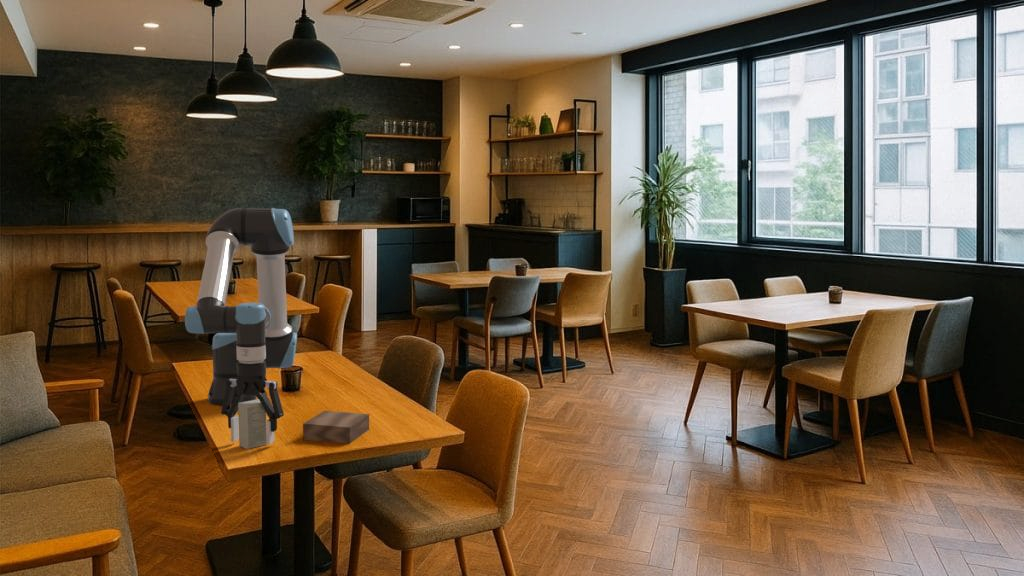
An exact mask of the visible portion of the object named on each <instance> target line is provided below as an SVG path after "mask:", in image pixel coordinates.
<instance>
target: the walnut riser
mask: <svg viewBox="0 0 1024 576" xmlns="http://www.w3.org/2000/svg"><path fill="white" fill-rule="evenodd" d="M368 431H370V414H369V413H361V412H360V413H359V412H348V411H347V412H346V411H332V410H323V411H322V412H320V413H318V414H317V415H315V416H313V417H311V418H310V419H308V420H306V421H305V422H302V440H305V441H313V442H315V441H316V442H325V443H327V442H328V443H336V444H337V443H339V444H349V445H351V444H352V443H353V442H354V441H356V440H358V438H360V437H361V436H363V435H364V434H365V433H367V432H368Z"/></svg>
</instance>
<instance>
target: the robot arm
mask: <svg viewBox="0 0 1024 576" xmlns="http://www.w3.org/2000/svg"><path fill="white" fill-rule="evenodd" d="M294 240H295V237H294V226H293V221H292V216H291V215H290V213H289V211H288V210H286V209H284V208H275V207H271V208H269V207H267V208H265V207H263V208H262V207H261V208H260V207H257V208H255V207H254V208H253V207H250V208H249V207H246V208H245V207H237V208H232V209H230V210H227V211H226V212H224V213H222V214H221V215H220V216H219V217H218V218H216V219H215V220H214V222H213V223H212V224H211V226H210V227H209V229H208V231H207V233H206V238H205V245H206V247H207V251H206V254H205V255H206V256H205V261H204V267H203V269H202V276H201V281H200V286H199V290H198V294H197V301H196V305H191V306H188V307H187V308H186V309H185V314H184V326H185V329H186V331H187V332H188V333H190V334H202V335H204V334H214V336H213V338H212V346H211V350H212V373H213V374H212V382H211V384H210V387H209V390H208V394H207V402H208V403H209V404H212V405H218V406H222V407H221V409H220V414H221V415H225V416H226V417H227V424H228V425H227V426H228V428H229V429H230V436H231V437H230V440H231V442H236V441H237V440H239V415H237V412H238V403H240V402H245V401H250V400H256V399H259V400H260V402H261V404H262V406H263V408H264V410H265V411H266V416H267V418H269V419H266V430H267V445H271V444H272V443H274V442H275V432H276V431H277V429H278V419H280V418H282V417H284V415H285V413H284V409H283V406H282V403H281V398H280V395H279V391H278V381H277V380H274V381H270V380H268V379H267V377H266V376H267V369H285V368H291V367H292V366H293V365H294V362H295V357H296V349H297V348H296V347H297V342H298V341H297V340H298V333H297V332H295V331H293V326H292V325H290V323H288V313H287V312H288V311H287V309H288V307H287V289H286V288H287V287H286V285H287V284H286V281H287V280H286V261H285V256H286V255H287V253H289V252H290V247H292V246H294V243H295V241H294ZM239 246H250V252H251V253H252V254H253V255H254V256H256V274H257V291H258V292H257V293H258V302H243V303H238V304H237V305H231V306H230V305H226V304H227V303H226V302H227V298H228V297H227V296H228V292H229V291H228V290H229V285H230V280H231V279H230V278H231V275H232V274H231V273H232V268H233V261H234V256H235V253H236V252H237V251H238V249H239ZM266 387H267V390H268V393H269V397H268V393H267V390H266V389H265V388H266ZM269 398H270V399H269Z"/></svg>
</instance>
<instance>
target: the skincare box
mask: <svg viewBox="0 0 1024 576" xmlns="http://www.w3.org/2000/svg"><path fill="white" fill-rule="evenodd" d="M237 412H238V415H237V416H238V418H239V439H238V443H239V444H238V445H239V446H240V447H241V448H243V449H245V450H249V449H254V448H258V447H262V446H266V445H268V444H267V413H266V411H265V410H264V408H263V406H262V404H261V402H260V400H259V399H258V398H256V400H250V401H245V402H240V403H238V410H237Z"/></svg>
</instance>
